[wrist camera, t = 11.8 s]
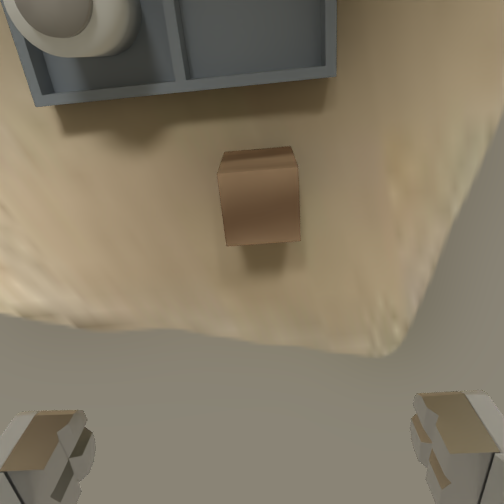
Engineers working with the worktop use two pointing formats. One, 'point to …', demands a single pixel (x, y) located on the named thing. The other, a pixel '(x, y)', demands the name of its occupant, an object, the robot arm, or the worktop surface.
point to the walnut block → (259, 196)
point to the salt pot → (77, 25)
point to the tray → (193, 51)
